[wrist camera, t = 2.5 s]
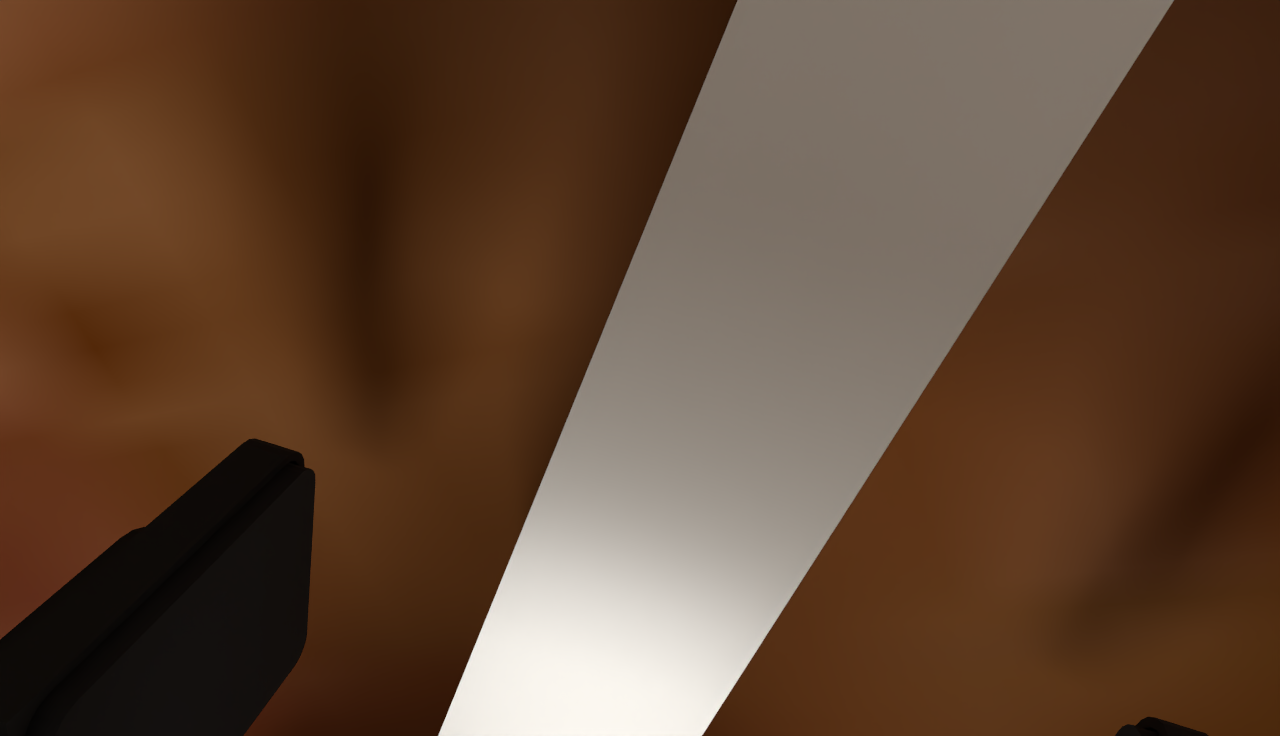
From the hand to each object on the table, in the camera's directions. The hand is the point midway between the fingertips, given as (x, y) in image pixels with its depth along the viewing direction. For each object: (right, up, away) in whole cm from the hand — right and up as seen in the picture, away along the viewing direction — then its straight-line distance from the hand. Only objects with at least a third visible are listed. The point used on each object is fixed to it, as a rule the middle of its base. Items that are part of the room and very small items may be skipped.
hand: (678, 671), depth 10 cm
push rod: (+2, +6, -1) cm, 7 cm away
